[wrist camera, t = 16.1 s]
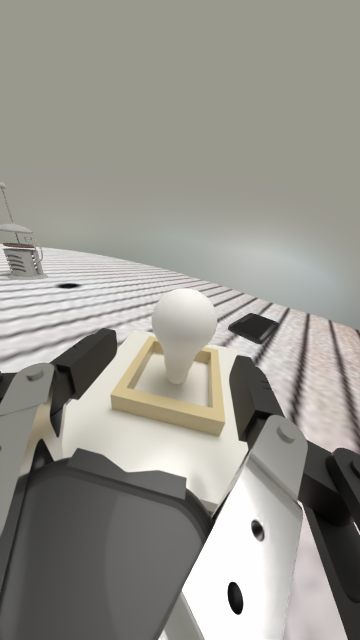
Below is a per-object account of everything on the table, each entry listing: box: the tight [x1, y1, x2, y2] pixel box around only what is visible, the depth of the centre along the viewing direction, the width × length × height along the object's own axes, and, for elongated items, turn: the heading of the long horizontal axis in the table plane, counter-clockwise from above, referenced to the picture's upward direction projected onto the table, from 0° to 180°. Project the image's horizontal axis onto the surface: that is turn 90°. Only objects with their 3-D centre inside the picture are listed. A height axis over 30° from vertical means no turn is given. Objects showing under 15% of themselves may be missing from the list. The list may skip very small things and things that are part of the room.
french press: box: [0, 182, 48, 280], centre depth 46 cm, size 10×12×25 cm
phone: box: [228, 313, 279, 344], centre depth 38 cm, size 8×1×15 cm
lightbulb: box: [152, 289, 217, 384], centre depth 16 cm, size 6×6×11 cm
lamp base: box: [62, 330, 248, 512], centre depth 18 cm, size 18×18×4 cm
